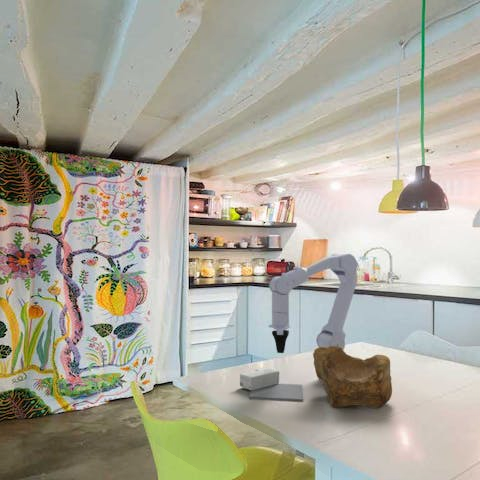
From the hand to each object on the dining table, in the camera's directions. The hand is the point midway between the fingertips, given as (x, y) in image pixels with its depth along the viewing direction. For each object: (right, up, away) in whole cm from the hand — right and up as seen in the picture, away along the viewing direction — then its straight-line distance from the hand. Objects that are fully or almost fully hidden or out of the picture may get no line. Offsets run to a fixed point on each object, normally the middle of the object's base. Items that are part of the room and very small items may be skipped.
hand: (280, 352), depth 137 cm
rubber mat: (-2, -10, -9) cm, 14 cm away
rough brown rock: (+18, -10, -19) cm, 28 cm away
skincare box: (-2, -8, 0) cm, 8 cm away
